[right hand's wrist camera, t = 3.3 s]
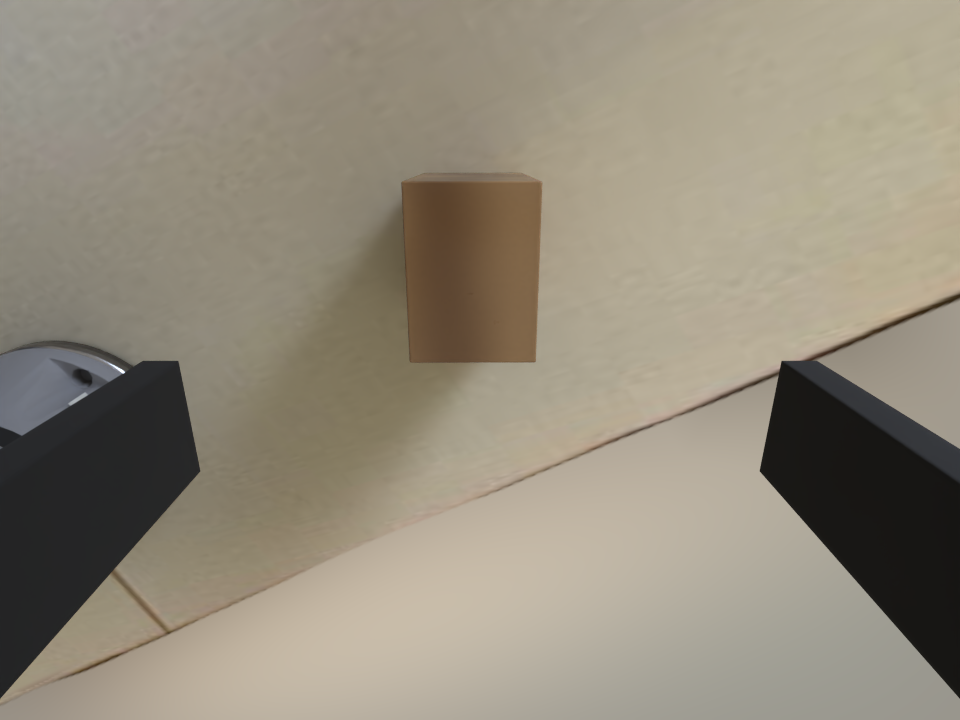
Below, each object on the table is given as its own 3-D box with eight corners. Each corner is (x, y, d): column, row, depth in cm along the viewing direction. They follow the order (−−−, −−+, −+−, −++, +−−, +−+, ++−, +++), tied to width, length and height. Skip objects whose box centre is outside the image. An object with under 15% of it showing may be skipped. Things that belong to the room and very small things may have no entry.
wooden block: (523, 173, 35) (542, 181, 25) (519, 305, 38) (535, 362, 28) (423, 173, 35) (401, 181, 25) (427, 306, 38) (409, 362, 28)
